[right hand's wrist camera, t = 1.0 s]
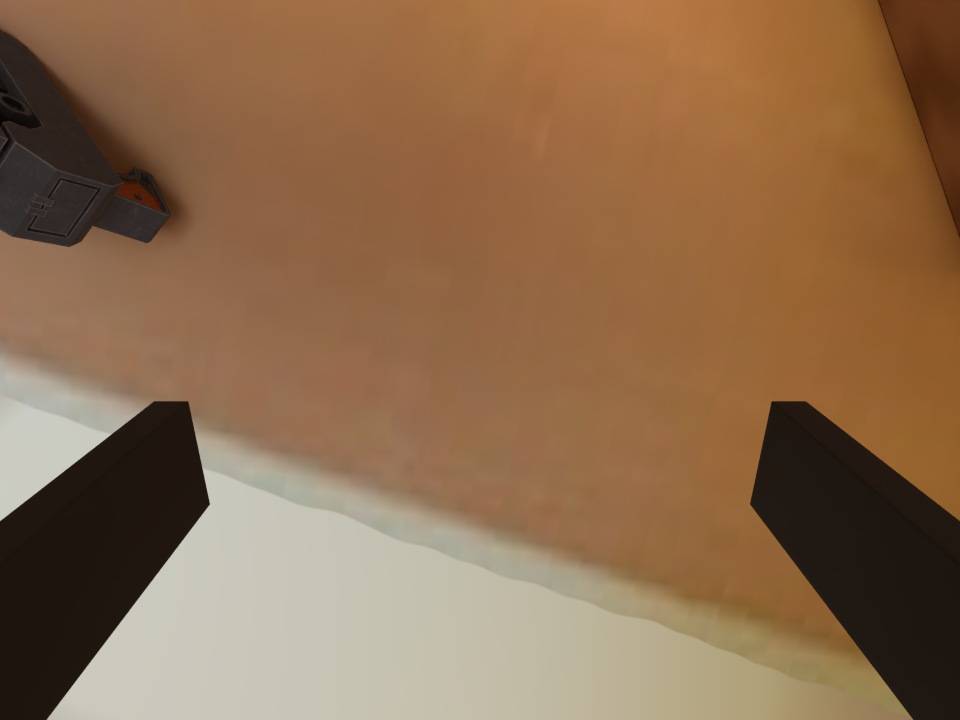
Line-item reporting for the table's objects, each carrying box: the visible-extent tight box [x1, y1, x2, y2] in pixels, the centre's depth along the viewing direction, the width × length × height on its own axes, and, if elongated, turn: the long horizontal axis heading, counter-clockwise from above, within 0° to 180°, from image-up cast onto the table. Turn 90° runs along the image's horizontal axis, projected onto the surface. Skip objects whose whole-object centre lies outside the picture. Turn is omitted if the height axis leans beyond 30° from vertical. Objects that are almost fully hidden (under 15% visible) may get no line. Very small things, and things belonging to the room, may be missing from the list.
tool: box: [0, 30, 172, 247], centre depth 37 cm, size 6×19×15 cm, turn 46°
